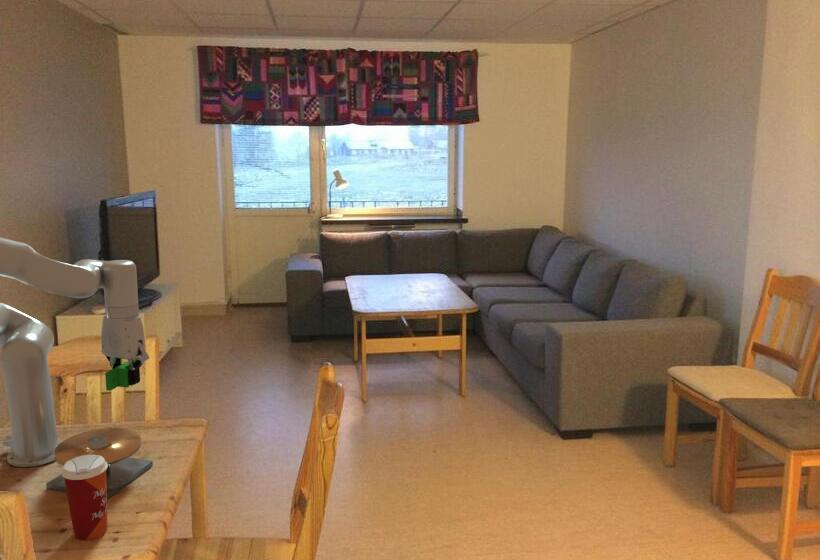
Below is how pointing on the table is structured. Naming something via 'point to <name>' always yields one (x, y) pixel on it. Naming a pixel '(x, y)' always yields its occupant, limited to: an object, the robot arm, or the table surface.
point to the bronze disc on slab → (104, 456)
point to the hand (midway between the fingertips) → (126, 381)
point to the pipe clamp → (118, 377)
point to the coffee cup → (87, 495)
